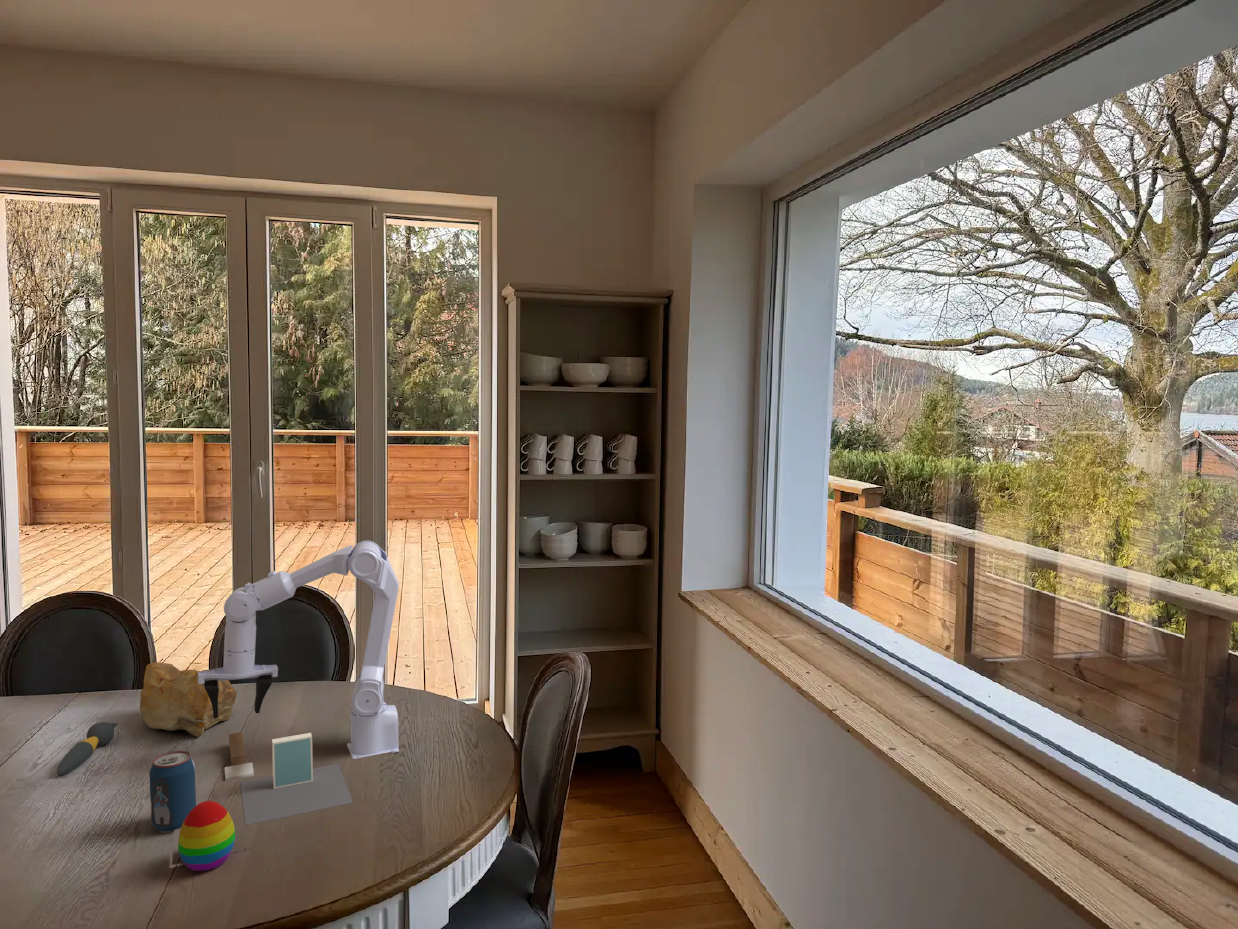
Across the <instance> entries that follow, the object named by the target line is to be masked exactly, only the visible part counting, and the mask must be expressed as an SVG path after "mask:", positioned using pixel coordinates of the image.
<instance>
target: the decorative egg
mask: <svg viewBox="0 0 1238 929" xmlns="http://www.w3.org/2000/svg"><path fill="white" fill-rule="evenodd" d="M234 824H235V823H234V821H233V819H232V816H231V814H230V812H228V810H227V809H226V808H225V807H224V806H223V805H222V804H220V803H218V802H216V801H213V800H205V801H202V802H200V803H198V804H196V806H195V807H194V808H193V809H192V810H191V811H190V813H189V814H188V815H187V817H186V818H185V820H184V822H183V824H182V827H181V828H180V830H179V835H178V840H177V841H178V842H177V843H178V844H177V847H178V853H179V856H180V859H181V860H182V862H183V864H184V865H185V866H186V867H187V868H188V869H190V870H192V871H196V872H204V871H205V872H206V871H209V870H213V869H215V868H218V867H220V866H221V865H222V864H224V863H225V862H226V860H227V859H228V857H229V856H230V854H231V853H232V850H233V849H234V846H235V840H236V831H235V830H236V829H235V825H234Z"/></svg>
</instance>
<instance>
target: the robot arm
mask: <svg viewBox="0 0 1238 929" xmlns="http://www.w3.org/2000/svg"><path fill="white" fill-rule="evenodd" d="M349 573H351V574H352V576H354V577H355V578H357V579H358V580H360V581H362V582H364V583H366V584H367V585H368V587H369V588H371V590H373V592H374V600H373V605H372V610H371V617H370V622H369V627H368V633H367V638H366V643H365V648H364V654H363V659H362V660H363V661H362V663H361V664H362V665H361V670H360V673H359V674H358V676H357V677H356V678H355V680H354V683H353V693H352V697H351V700H350V701H351V702H350V703H351V707H350V742H348V743H346V747H347V748H348V752H349V753H350V756H351V758H352V759H353V760H355V759H360V758H367V757H370V756H375V755H380V754H382V755H383V754H386V753H390V752H391V753H393V754H394V753H395V754H396V753H399V752H400V748H399V714H398V710H397V708H396V705H394V704H390V705H389V704H387V703H386V702H385V700H384V689H385V680H384V678H383V677H384V671H385V664H386V659H387V654H388V647H389V642H390V637H391V632H392V625H393V621H394V614H395V609H396V604H397V601H398V600H397V599H398V595H399V594H398V593H399V589H400V588H399V587H400V586H399V578H398V577H397V575H396V573H395V571H394V569H393V567H392V564H391V562H390V560H389V558H388V554H387V552H386V551H384V549H383V548H381V546H380V545H378V544H377V542H374V541H371V540H362V541H360V542H357V544H355V545H354V544H351V545H348V546H345V547H343V548H340V549H338V550H336V551H334V552H331V553H329V554H328V555H325V556H323V557H322V558H319V559H318V560H317V559H316V560H315V561H313V562H311V563H309V564H307V565H304V566H303V567H301V568H299V569H296V570H295V571H293V572H287V571H282V570H280V571H278V572H276V571H275V570H273V571H271V572H268V574H267V576H266V577H265V578H262V579H260V580H257V581H256V582H253V583H251V582H247V583H246V584H244V586H243V587H239V588H236V589H235V590H234V591H233V592H231V594H230V595H229V596H228V597H227V599H226V600H225V601H224V605H223V612H224V615H225V617H226V618H225V628H224V639H223V640H224V644H223V666H222V667H218V668H212V669H206V670H207V671H202V670H199V671H200V672H198V684H204V687H205V690H206V692H207V694H208V696H209V698H210V701H211V704H212V708H213V717H214V718H218V694H219V687H218V681H225V680H228V681H233V680H234V681H235V680H245V679H246V680H247V679H255V700H254V712H255V714H260V711H261V707H262V704H263V702H264V699H265V696H266V695H267V693H268V691H269V689H270V688H271V686H272V683H273V678H277V677H278V673H279V667H278V665H277V664H255V660H256V659H255V658H256V657H255V656H256V639H257V624H256V621H257V620H256V619H257V611H264V610H266V609H268V608H271V607H273V606H276V605H278V604H280V603H281V602H283V601H286V600H288V599H291V598H292V597H294V595H295V593H296V590H297V588H299V587H303V586H305V585H307V584H309V583H312V582H314V581H317V580H320V579H321V578H325V577H327V576H329V575H331V574H337V575H342V576H348V574H349Z"/></svg>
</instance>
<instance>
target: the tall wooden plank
mask: <svg viewBox="0 0 1238 929" xmlns="http://www.w3.org/2000/svg"><path fill="white" fill-rule="evenodd" d="M243 736H244V735H243V731H240V732H235V733H229V734H228V739H229V740H228V742H229V754H230V766H225V767H224V777H225V778H224V779H225V781H226V782H227V781H231V780H237V779H243V778H249V777H252V776H253V777H254V776H255V774H254V766H253V761H252V762H246V752H245V744H244V737H243Z"/></svg>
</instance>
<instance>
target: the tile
mask: <svg viewBox="0 0 1238 929" xmlns="http://www.w3.org/2000/svg"><path fill="white" fill-rule="evenodd" d="M271 753H272V754H271V757H272V758H271V759H272V760H271V761H272V762H271V763H272V776H273V787H274V789H275V788H281V787H286V786H291V785H296V784H301V783H306V782H311V781H313V766H314V763H313V762H314V761H313V759H314V758H313V736H312V732H307V733H302V734H301V733H300V734H296V735H289V736H284V737H283V736H282V737H278V738H272V739H271Z"/></svg>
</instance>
